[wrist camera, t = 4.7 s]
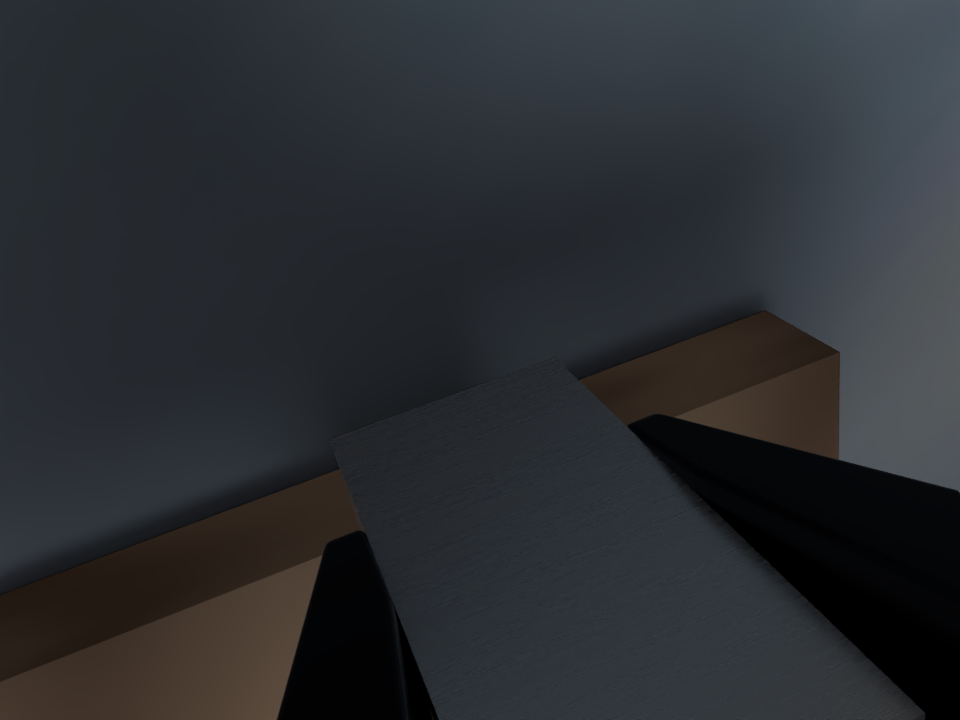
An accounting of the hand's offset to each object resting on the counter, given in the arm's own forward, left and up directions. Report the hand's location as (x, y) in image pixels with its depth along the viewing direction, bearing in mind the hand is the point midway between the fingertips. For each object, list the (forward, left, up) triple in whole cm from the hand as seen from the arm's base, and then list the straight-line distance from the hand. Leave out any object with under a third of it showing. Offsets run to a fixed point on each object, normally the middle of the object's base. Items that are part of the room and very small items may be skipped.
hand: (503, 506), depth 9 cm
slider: (0, +7, -3) cm, 7 cm away
